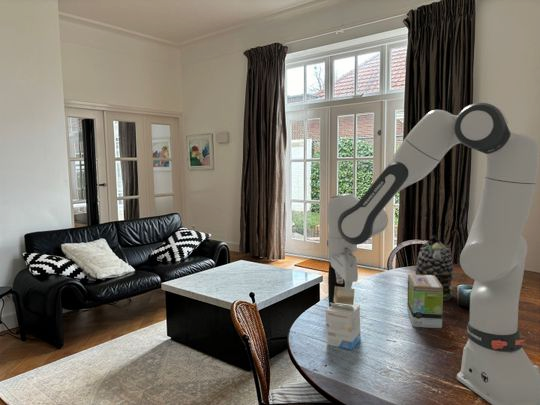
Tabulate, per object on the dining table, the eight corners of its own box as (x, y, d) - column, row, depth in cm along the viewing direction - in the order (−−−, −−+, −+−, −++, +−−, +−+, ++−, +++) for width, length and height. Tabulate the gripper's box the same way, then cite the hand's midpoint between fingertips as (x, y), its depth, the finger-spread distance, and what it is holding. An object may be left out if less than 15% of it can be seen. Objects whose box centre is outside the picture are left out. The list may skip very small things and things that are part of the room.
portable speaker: (350, 308, 159) (350, 259, 157) (352, 318, 150) (351, 266, 148) (328, 308, 160) (327, 259, 158) (328, 317, 151) (327, 266, 149)
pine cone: (460, 303, 160) (461, 241, 157) (420, 302, 163) (420, 241, 160) (446, 286, 180) (447, 231, 178) (411, 286, 183) (411, 231, 180)
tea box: (443, 329, 138) (443, 286, 136) (412, 327, 140) (412, 286, 138) (434, 312, 153) (435, 273, 151) (406, 311, 155) (406, 273, 153)
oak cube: (353, 305, 127) (354, 288, 128) (337, 303, 127) (339, 286, 128) (348, 303, 132) (349, 288, 133) (333, 301, 132) (335, 286, 132)
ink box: (361, 339, 132) (360, 300, 131) (351, 350, 125) (351, 308, 124) (336, 334, 137) (336, 296, 135) (326, 344, 130) (325, 304, 128)
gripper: (362, 251, 117) (363, 297, 119) (343, 238, 138) (345, 278, 139) (341, 252, 117) (342, 299, 118) (325, 239, 137) (326, 279, 138)
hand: (343, 287), depth 129 cm, fingers open, 8 cm apart
